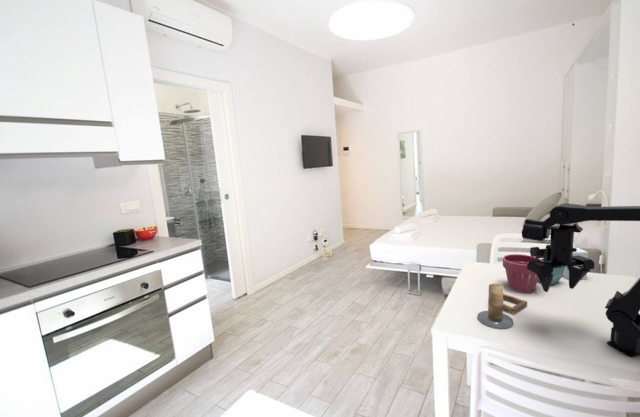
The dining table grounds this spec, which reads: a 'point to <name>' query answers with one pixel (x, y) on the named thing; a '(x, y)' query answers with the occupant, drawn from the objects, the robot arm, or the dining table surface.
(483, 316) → the slate coaster
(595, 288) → the dining table surface
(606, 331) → the dining table surface
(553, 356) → the dining table surface
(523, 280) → the plant pot
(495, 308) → the oak post
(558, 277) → the flower pot
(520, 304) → the pocket frame
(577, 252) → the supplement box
